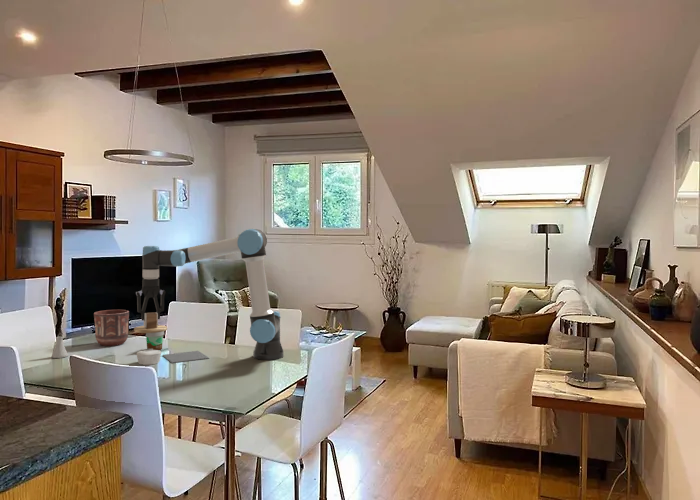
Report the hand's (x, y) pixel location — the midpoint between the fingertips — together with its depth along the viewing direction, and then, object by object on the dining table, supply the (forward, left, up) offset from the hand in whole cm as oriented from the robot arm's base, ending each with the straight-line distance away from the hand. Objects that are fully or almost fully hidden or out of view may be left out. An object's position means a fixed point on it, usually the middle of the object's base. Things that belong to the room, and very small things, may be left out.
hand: (150, 326), depth 260 cm
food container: (+26, -9, -17) cm, 32 cm away
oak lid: (0, 0, -2) cm, 2 cm away
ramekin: (0, +1, -18) cm, 18 cm away
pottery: (+54, +9, -17) cm, 57 cm away
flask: (+35, +36, -18) cm, 53 cm away
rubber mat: (+2, -17, -17) cm, 24 cm away
